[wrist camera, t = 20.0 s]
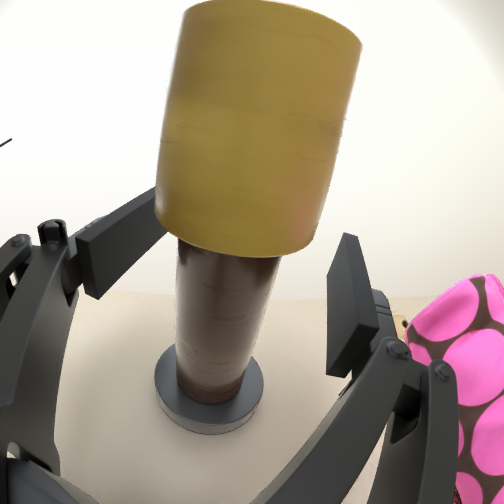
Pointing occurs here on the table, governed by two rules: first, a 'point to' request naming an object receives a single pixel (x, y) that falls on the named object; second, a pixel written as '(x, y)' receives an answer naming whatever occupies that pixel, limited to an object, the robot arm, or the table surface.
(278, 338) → the table surface
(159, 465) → the table surface
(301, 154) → the yellow-topped cylinder
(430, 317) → the pencil case
